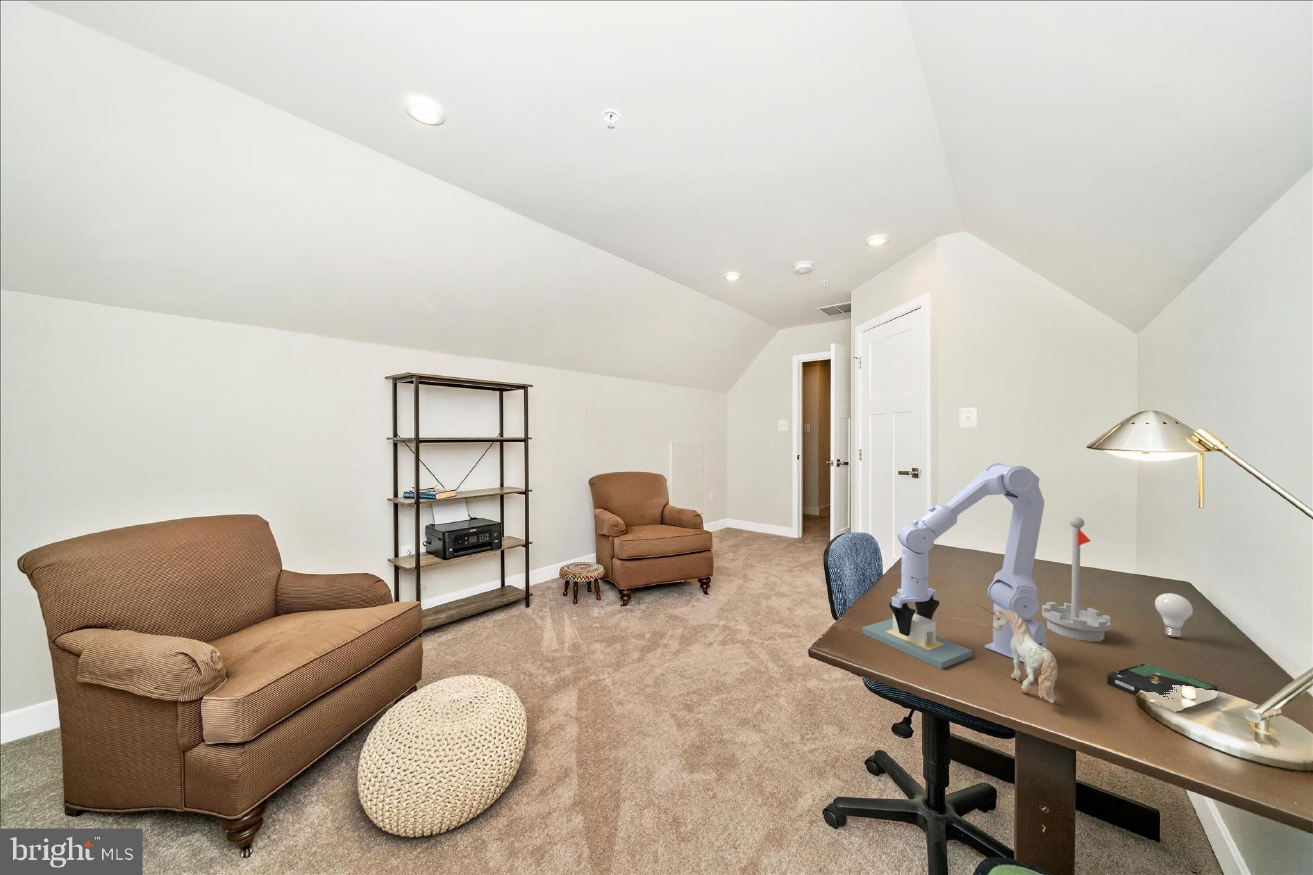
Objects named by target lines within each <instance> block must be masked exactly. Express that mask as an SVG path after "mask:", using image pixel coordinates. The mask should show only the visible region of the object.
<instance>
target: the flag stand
mask: <svg viewBox="0 0 1313 875" xmlns="http://www.w3.org/2000/svg"><path fill="white" fill-rule="evenodd" d="M1068 523H1069V525H1070V526H1071V527H1072V542H1071V544H1072V549H1071V550H1072V551H1071V555H1072V556H1071V603H1067V602H1063V606H1058V604H1057V603H1056V602H1054V601H1049V602H1045V604H1042V608H1041V609H1042V610H1041V614H1042V615H1041V616H1042V617H1044V619H1046V628H1047V629H1049V630H1050V629H1051V630H1052V632H1053V631H1054V633H1056V634H1057V633H1058V635H1061V636H1063V637H1066V636H1067V637H1066V638H1070V639H1073V638H1075V639H1074V640H1078V641H1083V640H1090V641H1089V642H1093V641H1098V640H1103V639H1104V640H1105V632H1107V631H1110V630H1111V617H1110V616H1109V615H1106V614H1102V615H1101V611H1100V610H1097V609H1094V608H1092V607H1088V608H1087V609H1086V610H1082V609H1080V593H1081V592H1080V590H1081V588H1080V585H1081V582H1080V581H1081V578H1080V577H1081V546H1082V545H1084V544H1088V543H1090V542H1091V539H1090V538H1089V537H1087V535H1085V533H1084V532H1083V531H1082V530H1081V528H1083V527H1084V526H1085V520H1084V519H1083V518H1082V517H1079V516H1072V517H1070V519H1069V521H1068ZM1051 630H1050V631H1051ZM1104 640H1103V641H1104ZM1098 642H1099V641H1098Z"/></svg>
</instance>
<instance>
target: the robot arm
mask: <svg viewBox="0 0 1313 875" xmlns="http://www.w3.org/2000/svg"><path fill="white" fill-rule="evenodd" d="M1039 484H1040V477H1039V476H1038V475H1036V473H1034V472H1033V470H1031V469H1030V468H1028V467H1027V466H1022V465H1009V464H1004V463H992V464H991V465H989V466H987V467H986V469H985V470H982V471H980V472H978V474H977V475H976V477H975V478H974V479H973V480H972V481H971V482H969V483H968V485H966V486H965V487H964V488H963V489H962V490H960V491H959V492H958V493H957V494H956V495H955V496H954V497H952V498H951V499H950V500H949V501H948V502H946V504H936V505H935V506H933V505H930V506H929V507H927V510H928V511H927V512H926V513H925V514H923V515H922V516H921V517H919V518H917V519H914V520H912V524H907V525H905V526H902V528H901V529H900V530H899V534H897V539H898V542H899V543H900V544H901V568H900V569H901V573H900V574H901V579H900V580H901V585H900V586H901V588H897V593H896V595H894V596H892V597H891V601H890V602H889V605H888V606H889V608H890V609H891V612H892V614H893V613H894V616H895V618H896V621H897V625H898V629H899V633H900V634H903V635H905V636H909V635H910V630H911V622H912V618H913V615H914V614H917V615H919V616H922V617H925V618H928V619H930V620H932V619H933V618H934V617H933V616H934V614H935V613H936V610H937V609H938V607H939V606H940V601H939V600H937V589H934V588H931V587H929V563H930V562H929V561H930V560H929V551H930V550H932V549H933V547H934V543H935V541H936V540H937V539H938V538H939V537H941V536H942V535H943V534H945V533H946V532H947V531H948V530H950V529H952V527H954V526H956V524H957V523H958V516H959V515H960V514H962V513H963V512H965V511H966V510H968V509H969V508H971V507H972V506H973V505H974V504H976V503H978V502H979V501H980V500H982V499H984V498H985V497H987V496H994V495H995V496H996V495H997V496H998V495H1003V496H1004V497H1005V499H1007V500H1008V501H1009V502H1010V503H1011V504H1012V505H1013V508H1012V512H1011V519H1010V524H1009V529H1008V534H1007V539H1006V540H1007V541H1006V547H1005V552H1004V558H1003V563H1002V568H1001V570H999V571H998V572H996V573H995V575H994V578H993V581H992V582H991V583H990V584H989V586H988V588H987V596H988V598H989V599H990V601H991V602H993V606H992V607H993V610H992V611H994V612H997V611H998V610H997V609H999V608H1000V609H1005V610H1009V611H1012V612H1015V613H1016V614H1017V615H1018V616H1019V617H1020V618H1021V619H1022V620H1023V621H1025V622H1026V624H1027V625H1028V627H1029V629H1030V632H1031V633H1032V635H1033V637H1034V639H1033V640H1034V641H1035V642H1036V643H1037V644H1038V645H1040V646H1041V647H1044V648H1046V649H1047V638H1048V637H1047V634H1048V631H1047V626H1046V625H1045V624H1044V623H1043V622H1040V621H1039V620H1036V619H1035V617H1036V616H1037V615H1038V614H1039V612H1040V609H1041V607H1040V606H1041V605H1040V601H1039V599H1038V589H1039V588H1038V587H1037V585H1036V584H1035V582H1034V580H1033V578H1032V575H1033V570H1034V563H1035V557H1036V553H1037V548H1038V542H1039V536H1040V535H1039V534H1040V531H1041V524H1042V518H1043V515H1044V509H1045V499H1044V496H1043V494H1042V491H1041V488H1040V486H1039ZM909 604H914V605H915V608H916V609H914V608H911V607H910V606H909ZM992 616H993V622H994V620H995V615H993V614H992ZM993 622H992V623H993ZM1001 629H1002V630H1001V631H995V629H994V628H993V627H992V642H989V643H988V644H985V645H984V649H985V648H986V649H988V650H991V651H993V652H995V653H998V654H1000V655H1003V656H1005V657H1009V658H1011V659H1013V660H1014V656H1013V653H1012V649H1011V640H1012V637H1013V636H1014V632H1013V629H1012V627H1011V626H1010V625H1009V624H1008V625H1005V626H1003V627H1002V628H1001ZM1019 661H1020V663H1021V662H1022V663H1024V659H1023V658H1022V657H1021V656H1020V657H1019Z"/></svg>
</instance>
